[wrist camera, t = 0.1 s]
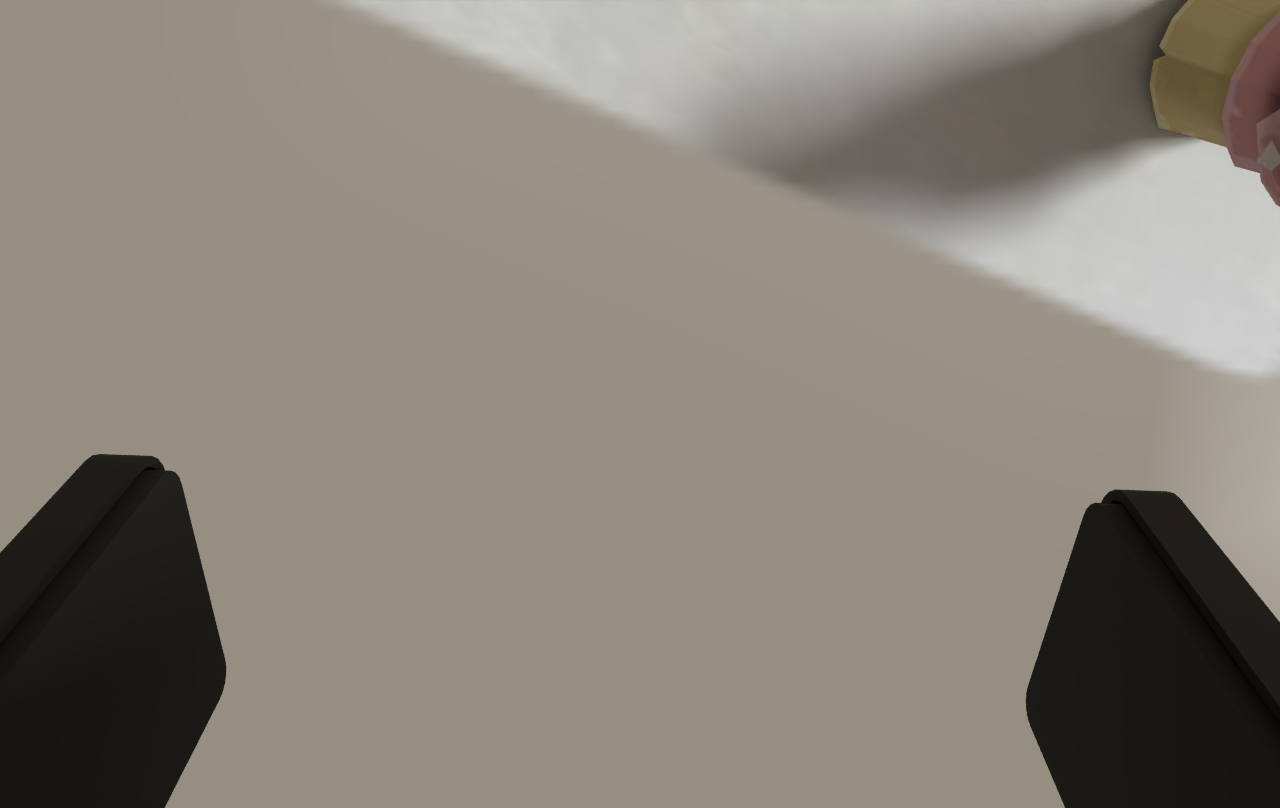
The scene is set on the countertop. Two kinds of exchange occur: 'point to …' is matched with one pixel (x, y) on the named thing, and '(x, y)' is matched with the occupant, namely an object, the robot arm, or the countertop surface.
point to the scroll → (1224, 81)
